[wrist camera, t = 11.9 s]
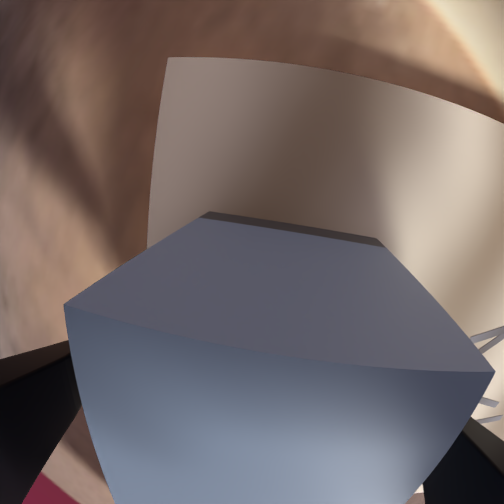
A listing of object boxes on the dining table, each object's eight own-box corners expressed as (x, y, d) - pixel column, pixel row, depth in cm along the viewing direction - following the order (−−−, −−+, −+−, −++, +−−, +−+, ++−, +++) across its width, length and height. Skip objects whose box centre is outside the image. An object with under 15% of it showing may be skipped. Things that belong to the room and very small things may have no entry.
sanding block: (376, 237, 8) (496, 371, 2) (312, 445, 10) (308, 586, 5) (209, 211, 9) (63, 304, 3) (194, 425, 11) (141, 558, 5)
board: (614, 200, 7) (633, 206, 6) (503, 459, 12) (511, 475, 10) (185, 69, 9) (168, 57, 8) (165, 444, 14) (155, 466, 12)
